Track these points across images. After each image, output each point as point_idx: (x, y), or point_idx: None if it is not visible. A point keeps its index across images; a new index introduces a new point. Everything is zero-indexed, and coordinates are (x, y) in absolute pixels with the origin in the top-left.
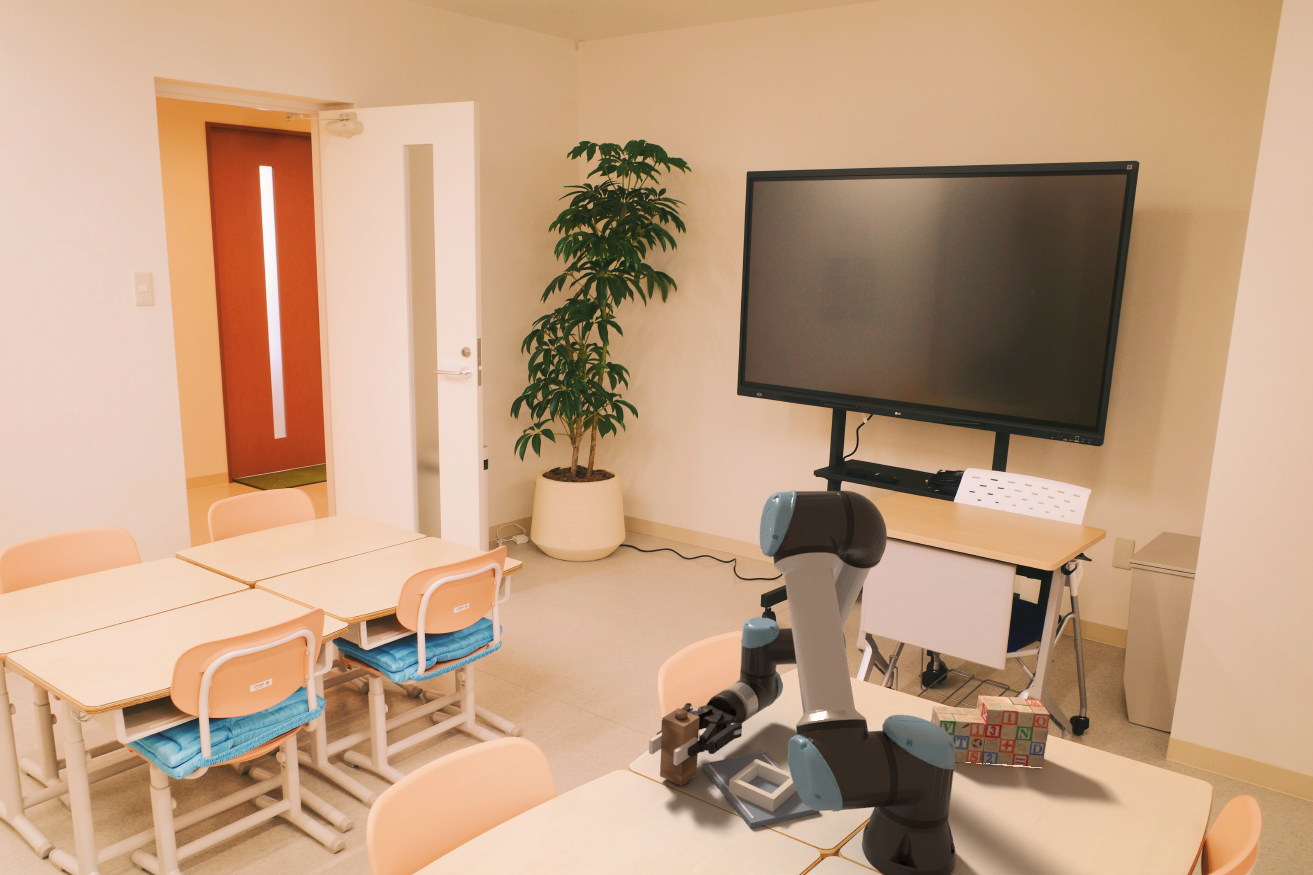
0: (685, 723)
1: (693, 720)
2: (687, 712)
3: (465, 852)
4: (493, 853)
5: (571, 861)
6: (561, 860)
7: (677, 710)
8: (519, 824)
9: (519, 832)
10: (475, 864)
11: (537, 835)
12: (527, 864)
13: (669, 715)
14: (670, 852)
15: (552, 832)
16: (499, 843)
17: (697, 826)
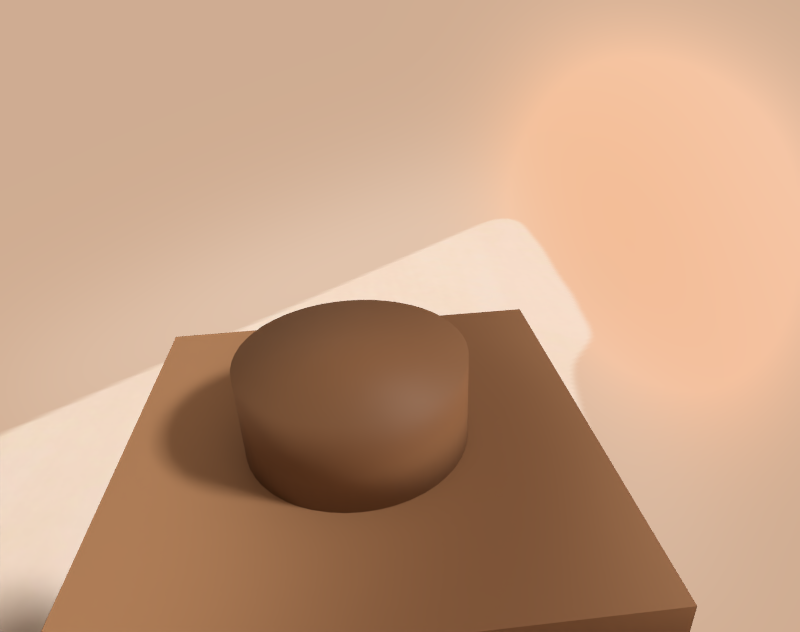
0: (196, 383)
1: (109, 494)
2: (253, 408)
3: (519, 228)
4: (482, 244)
5: (338, 294)
6: (359, 287)
7: (445, 353)
8: (547, 286)
9: (516, 278)
10: (474, 228)
11: (478, 291)
12: (404, 259)
13: (515, 370)
14: (103, 429)
15: (464, 308)
16: (505, 254)
17: (36, 589)
